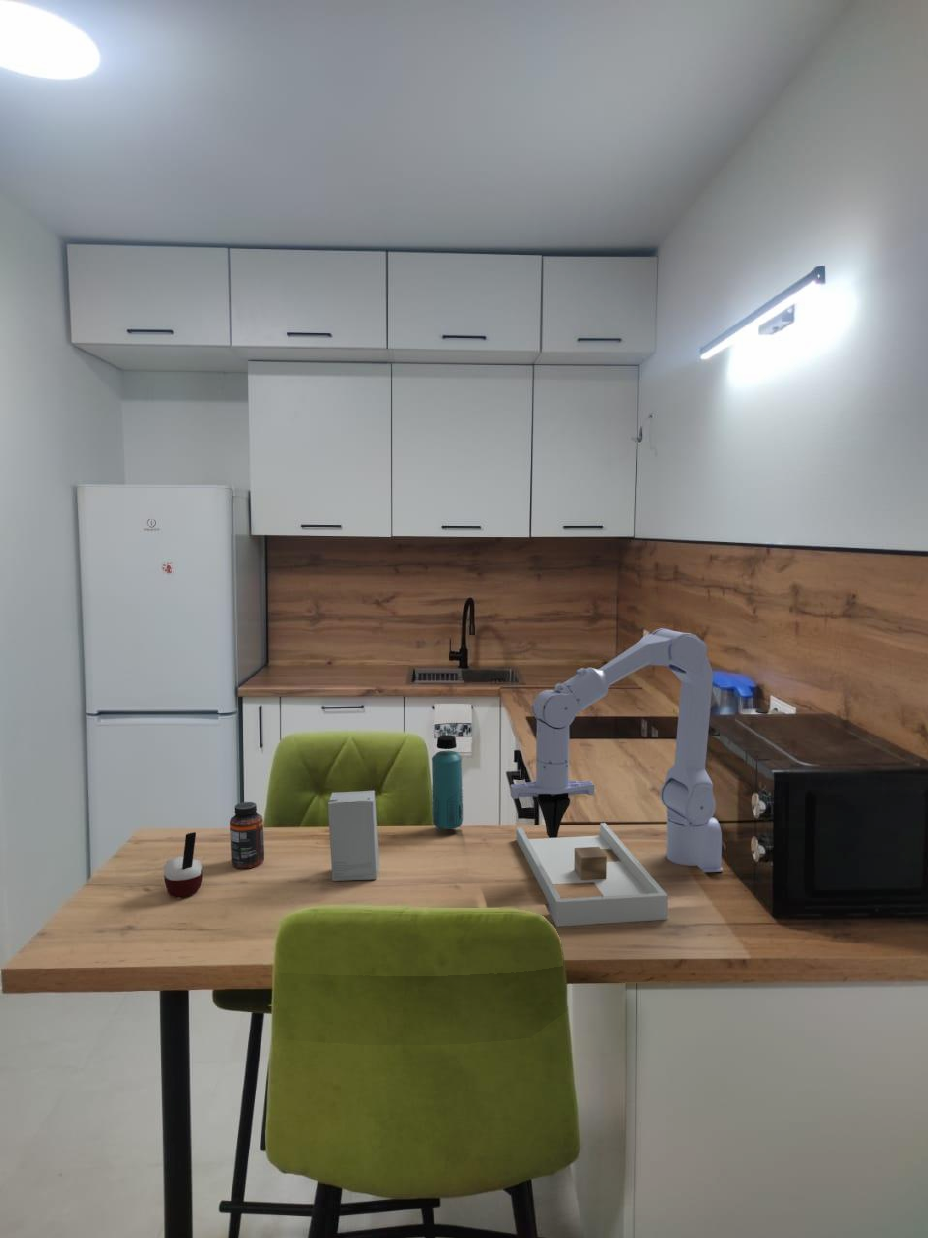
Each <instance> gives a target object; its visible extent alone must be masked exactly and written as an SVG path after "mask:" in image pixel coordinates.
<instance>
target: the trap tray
mask: <svg viewBox="0 0 928 1238" xmlns="http://www.w3.org/2000/svg"><path fill="white" fill-rule="evenodd" d="M599 826H600V827H599V828H600V829H599V830H600V834H599V835H590V836H589V835H585V836H584V835H583V836H566V837H564V836H563V837H556V838H549V837H548V838H547V837H545V838H528V836H527V834H526V832H525V831H524V829H523V827H522V826H521V827H520V826H519V827H516V842H517V843H518V846H519V848H520V850H521V851H522V854H523V855H524V857H525V860H526V861H527V864H528V866H529V867H530V869H531V871H532V873H533V875H534V878H535V879H536V881H537V883H538V884H539V887H540V888H541V891H542V892H543V895H544V897H545V899H546V900H547V902H548V903H544V904H545V906H546V910H548V913H549V915H550V917H551V919H552V921H553V923H554V925H555V927H556V928H558V927H559V928H560V927H573V926H575V927H576V926H589V925H590V926H591V925H601V924H602V925H603V924H605V925H606V924H623V923H636V922H648V921H649V922H651V921H652V922H653V921H663V920H664V921H666V920H668V903H669V902H668V899H669V895H668V894H667V893H666V891H665V890H664V889H663V888H662V887H661V886H660V884H659V883H658V882H657V881H656V880H655V879H654V878H653V876H652V875H651V874H650V873H649V872H648V871H647V870H646V868H645V867H644V866H643V865H642V864H641V863H640V861H639V860H638V859H637V858H636V857H635V856H634V854H633V853H632V852H631V851H630V850H629V849H628V848H627V846H626V845H625V844H624V843H623V842H622V840H620V838H619V837H618V836H617V834H616V833H614V831H613V830H612V829H611V828H610V827H609V826H608V824H607V823H605V822H603V823H600V825H599ZM586 847H600V849H601V850H602V851H603V850H610V851H612V852H613V854H614V855H615V856H616V857H617V858H618V859H619V860H617V861H607V874H606V879H595V880H581V879H580V878H579V876H578V874H577V873H576V871H575V870H574V864H575V848H586ZM586 883H594V885H595V886H596V887H597V890H599V892H600V894H601V895H602V896H590V897H589V896H588V897H587V896H586V897H574V898H571V897H570V898H561V896H560V894H559V892H558V891H557V888H556V886H555V885H566V884H586Z"/></svg>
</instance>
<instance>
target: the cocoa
mask: <svg viewBox="0 0 928 1238" xmlns="http://www.w3.org/2000/svg"><path fill="white" fill-rule="evenodd" d="M196 835H197V833H196V832H195V831H194V832H188V833H186V834H185V839H184V847H183V848H184V849H183V856H177V857H174V858H171V859H170V860H167V861H166V862H165V864H164V865H163V873H164V874H163V875H164V876H163V877H164V883H165V887H166V891H167V893H168V894H169V895H170V896H171V897H173V898H179V899H185V898H189V897H191V896H193V895H195V894H196V893H198V891H199V890H200V888H201V887H202V883H203V877H204V875H203V874H204V871H203V866H202V863H201V861H200V860H198V859H195V858H194V856H195V855H194V854H195V846H196V845H195V844H196V838H197V836H196Z"/></svg>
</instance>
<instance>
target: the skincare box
mask: <svg viewBox="0 0 928 1238" xmlns="http://www.w3.org/2000/svg"><path fill="white" fill-rule="evenodd" d="M327 813H328V833H329V846H330V847H329V848H330V862H331V877H332V882H342V881H344V882H345V881H367V880H370V881H371V880H372V881H373V880H377V878H378V873H379V868H380V859H379V858H380V857H379V839H378V826H377V825H378V824H377V822H378V821H377V804H376V791H375V790H363V791H348V792H347V791H346V792H332V793H331V795H330V797H329V800H328V802H327Z"/></svg>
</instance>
